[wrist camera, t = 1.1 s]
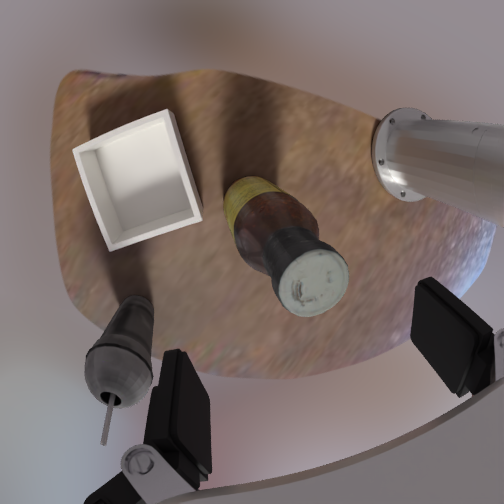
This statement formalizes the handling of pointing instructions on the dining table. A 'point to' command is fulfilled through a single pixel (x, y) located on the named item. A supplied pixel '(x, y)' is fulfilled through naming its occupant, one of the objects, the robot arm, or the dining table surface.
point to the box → (139, 180)
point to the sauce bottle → (285, 246)
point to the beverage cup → (122, 358)
